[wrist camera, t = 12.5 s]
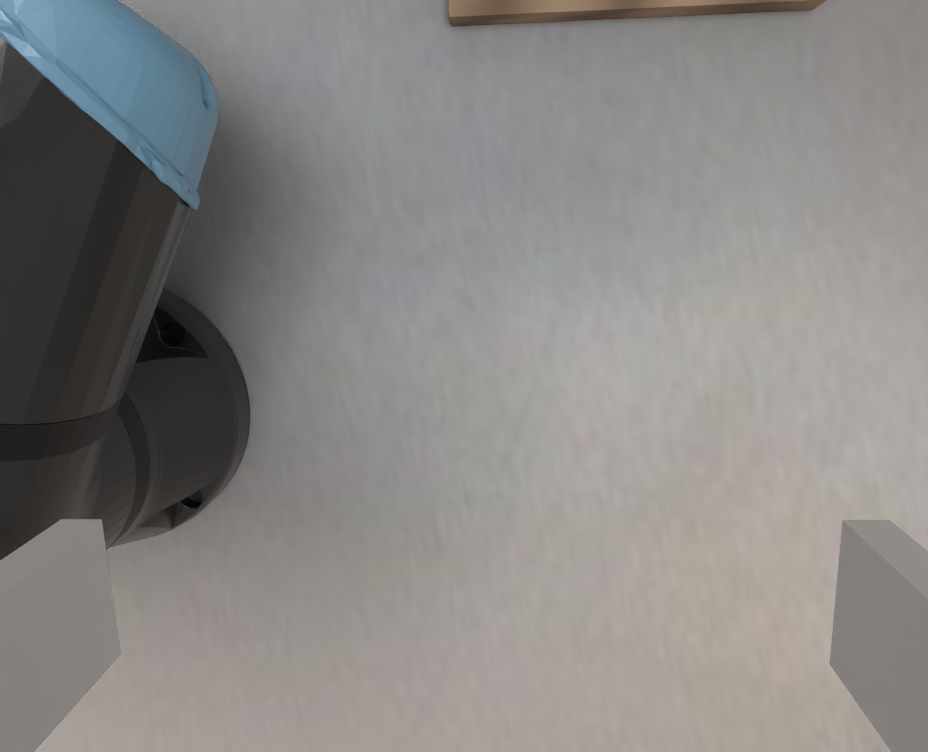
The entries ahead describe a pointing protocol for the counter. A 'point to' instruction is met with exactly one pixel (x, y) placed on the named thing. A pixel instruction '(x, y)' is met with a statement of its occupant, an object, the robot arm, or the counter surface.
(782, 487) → the counter surface
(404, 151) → the counter surface
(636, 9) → the walnut board
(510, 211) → the counter surface
